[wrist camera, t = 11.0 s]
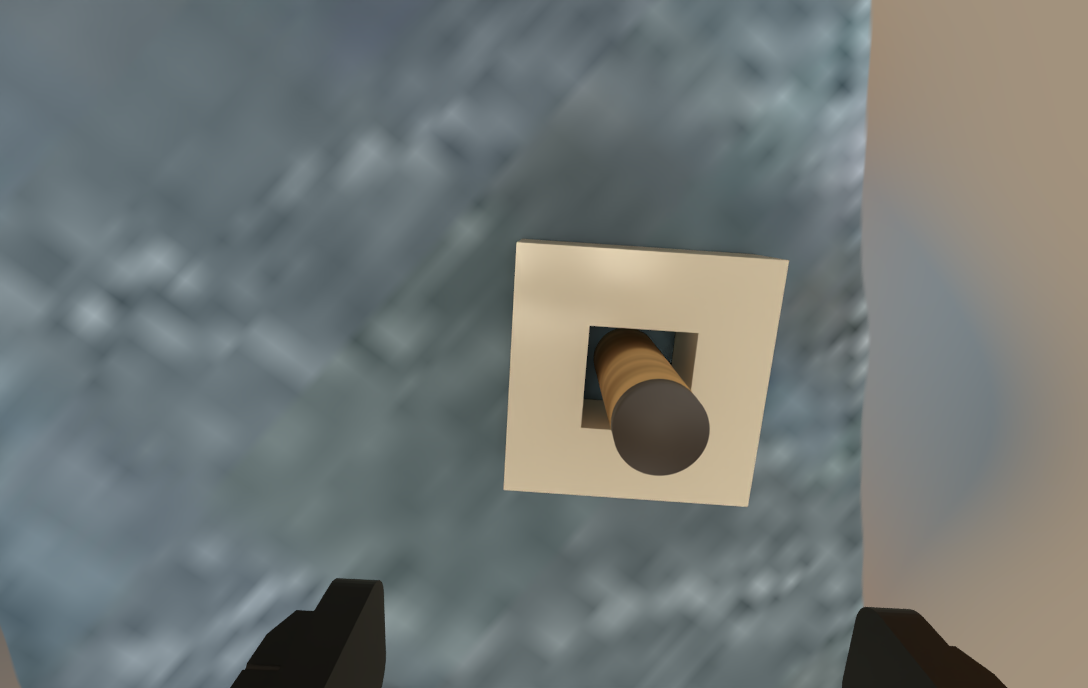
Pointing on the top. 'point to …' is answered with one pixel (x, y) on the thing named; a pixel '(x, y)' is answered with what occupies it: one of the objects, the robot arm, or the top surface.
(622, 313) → the socket block
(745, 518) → the top surface
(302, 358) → the top surface
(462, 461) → the top surface
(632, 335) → the peg
